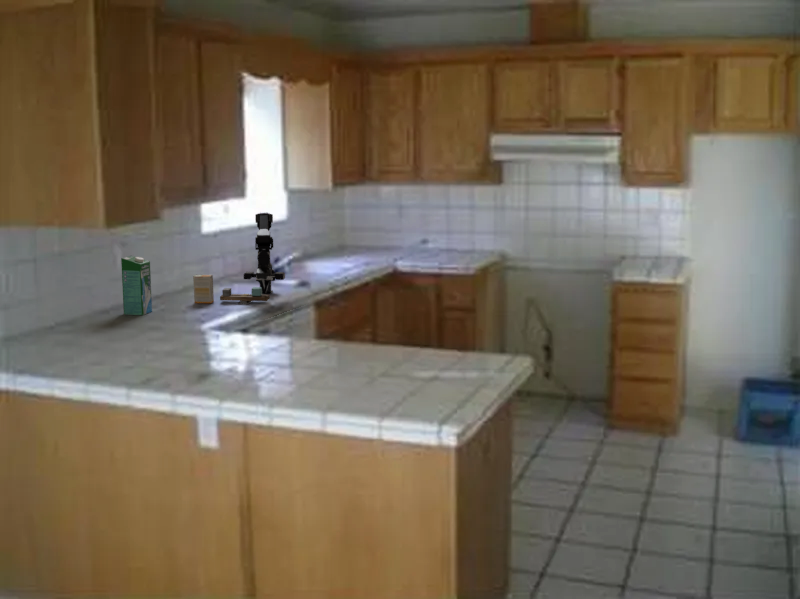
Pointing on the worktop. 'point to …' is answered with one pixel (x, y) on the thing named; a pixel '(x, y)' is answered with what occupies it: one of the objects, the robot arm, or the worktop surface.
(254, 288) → the block
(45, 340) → the worktop surface
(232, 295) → the brown long slotted block
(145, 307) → the milk carton
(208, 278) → the supplement box
